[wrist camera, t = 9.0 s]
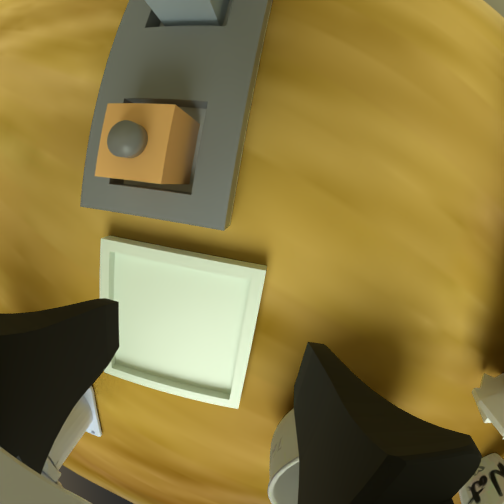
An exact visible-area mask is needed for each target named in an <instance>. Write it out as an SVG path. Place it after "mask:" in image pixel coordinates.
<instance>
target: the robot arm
mask: <svg viewBox="0 0 504 504" xmlns="http://www.w3.org/2000/svg"><path fill="white" fill-rule="evenodd" d="M119 347H120V346H119V302H117V301H114V300H110V299H107V298H101V299H95V300H90V301H85V302H81V303H76V304H72V305H68V306H63V307H58V308H53V309H48V310H43V311H37V312H29V313H16V314H0V504H92V503H90V502H88V501H87V500H85V499H83V498H81V497H79V496H78V495H76V494H74V493H72V492H70V491H68V490H66V489H64V488H63V487H62V484H61V483H60V482H59V481H58V479H59V477H60V476H61V473H60V472H59V471H58V469H59V468H60V467H61V465H62V464H63V462H64V461H65V460H66V458H67V457H68V455H69V454H70V452H71V451H72V450H73V448H74V447H75V445H76V444H77V443H78V441H79V440H80V438H81V437H82V436H83V434H84V433H85V431H87V432H89V433H91V434H93V435H96V436H98V437H100V436H101V435H102V431H101V427H100V422H99V418H98V413H97V408H96V402H95V397H94V391H93V387H92V386H91V385H92V384H93V383H94V382H95V381H96V379H97V378H98V377H99V376H100V375H101V373H102V372H103V371H104V370H105V369H106V367H107V366H108V365H109V363H110V362H111V360H112V359H113V357H114V355H115V354H116V352H117V350H118V348H119ZM294 416H295V425H296V434H297V443H298V452H299V489H298V504H454V503H453V500H452V497H453V496H454V495H455V494H456V493H457V492H458V491H459V490H460V489H461V488H462V487H463V486H464V485H465V484H466V483H467V482H468V481H469V480H470V478H471V477H472V476H473V475H474V474H475V472H476V471H477V469H478V467H479V465H480V463H481V458H482V455H481V453H480V451H479V450H478V448H477V446H476V445H475V443H474V441H473V440H472V438H471V436H470V435H467V434H463V433H459V432H455V431H452V430H448V429H445V428H441V427H439V426H436V425H433V424H431V423H428V422H426V421H423V420H421V419H419V418H417V417H415V416H413V415H411V414H409V413H407V412H405V411H403V410H402V409H400V408H398V407H396V406H395V405H393V404H391V403H390V402H388V401H387V400H385V399H384V398H383V397H381V396H380V395H378V394H377V393H376V392H374V391H373V390H372V389H370V388H369V387H368V386H367V385H366V384H365V383H363V382H362V381H361V380H360V379H359V378H358V377H357V376H356V375H354V374H353V373H352V372H351V371H350V370H349V369H348V368H347V367H346V366H345V365H344V364H343V363H342V362H341V361H340V360H339V359H338V357H337V356H336V355H335V354H334V353H333V352H332V351H331V350H330V349H329V348H328V347H327V346H326V345H324V344H319V343H312V342H308V343H307V346H306V350H305V353H304V356H303V360H302V363H301V366H300V370H299V373H298V376H297V379H296V382H295V385H294Z"/></svg>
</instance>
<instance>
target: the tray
mask: <svg viewBox="0 0 504 504" xmlns="http://www.w3.org/2000/svg"><path fill="white" fill-rule="evenodd" d="M266 268H267V266H266V265H260V264H255V263H249V262H244V261H239V260H233V259H228V258H223V257H218V256H212V255H207V254H202V253H197V252H191V251H186V250H181V249H176V248H171V247H165V246H160V245H155V244H150V243H145V242H140V241H135V240H130V239H125V238H120V237H115V236H110V235H109V236H106V237H103V238H101V249H100V299H101V298H107V299H110V300H114V301H117V302H119V346H120V347H119V348H118V350H117V352H116V354H115V355H114V357H113V359H112V360H111V362H110V363H109V365H108V366H107V367H106V369H105V370H104V372H105V373H108V374H110V375H113V376H116V377H119V378H122V379H125V380H128V381H131V382H134V383H137V384H140V385H143V386H146V387H150V388H153V389H156V390H160V391H163V392H167V393H170V394H174V395H178V396H182V397H186V398H190V399H194V400H198V401H202V402H207V403H211V404H216V405H221V406H226V407H231V408H236V409H238V407H239V402H240V398H241V393H242V388H243V383H244V379H245V374H246V369H247V364H248V360H249V355H250V350H251V345H252V340H253V335H254V330H255V325H256V320H257V315H258V310H259V305H260V300H261V295H262V290H263V285H264V280H265V274H266Z"/></svg>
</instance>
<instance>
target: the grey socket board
mask: <svg viewBox="0 0 504 504" xmlns="http://www.w3.org/2000/svg"><path fill="white" fill-rule="evenodd" d="M272 1H273V0H230V1H229V4H228V8H227V11H226V15H225V18H224V22H223V25H222V26H198V25H194V26H164V25H163V23H162V22H161V21H160V19H159V18H158V17H157V15H156V14H155V13H154V12H153V10H152V9H151V8H150V7H149V5H148V4H147V3H146V1H145V0H129V3H128V5H127V8H126V10H125V12H124V15H123V18H122V20H121V23H120V25H119V28H118V31H117V34H116V37H115V39H114V42H113V45H112V48H111V51H110V55H109V58H108V61H107V64H106V68H105V71H104V75H103V78H102V82H101V86H100V90H99V94H98V98H97V102H96V107H95V111H94V116H93V120H92V125H91V131H90V136H89V142H88V148H87V154H86V161H85V168H84V176H83V184H82V194H81V205H80V206H81V207H87V208H93V209H100V210H106V211H112V212H118V213H124V214H130V215H136V216H142V217H148V218H154V219H160V220H166V221H172V222H178V223H184V224H189V225H195V226H201V227H206V228H212V229H218V230H223V231H224V230H225V229H226V228H228V227H229V226H230V223H231V217H232V211H233V205H234V199H235V193H236V187H237V181H238V175H239V169H240V164H241V158H242V152H243V147H244V141H245V136H246V130H247V125H248V119H249V114H250V109H251V103H252V98H253V93H254V88H255V83H256V78H257V73H258V68H259V63H260V58H261V53H262V48H263V43H264V38H265V33H266V29H267V24H268V19H269V15H270V10H271V6H272ZM108 103H149V104H174V105H177V106H178V107H179V108H181V109H182V110H183V111H184V112H186V113H187V114H188V115H189V116H191V117H192V118H193V119H194V120H196V121H197V122H198V123H199V124H200V127H199V132H198V137H197V142H196V148H195V153H194V159H193V165H192V171H191V177H190V183H189V184H156V183H148V182H141V181H132V180H124V179H115V178H106V177H97V176H95V170H96V163H97V156H98V150H99V144H100V138H101V133H102V128H103V123H104V118H105V113H106V109H107V104H108Z"/></svg>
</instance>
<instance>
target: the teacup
mask: <svg viewBox="0 0 504 504" xmlns="http://www.w3.org/2000/svg"><path fill="white" fill-rule="evenodd" d="M298 489H299V452H298V443H297V434H296V425H295V416H294V408H293V409H292V410H291V411H290V412H289V413H288V414H286V415H285V417H284V418H283V419H282V420H281V422H280V423H279V425H278V426H277V428H276V430H275V433H274V435H273V439H272V443H271V451H270V482H269V485H268V497H269V499H270V501H271V503H272V504H298Z"/></svg>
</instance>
